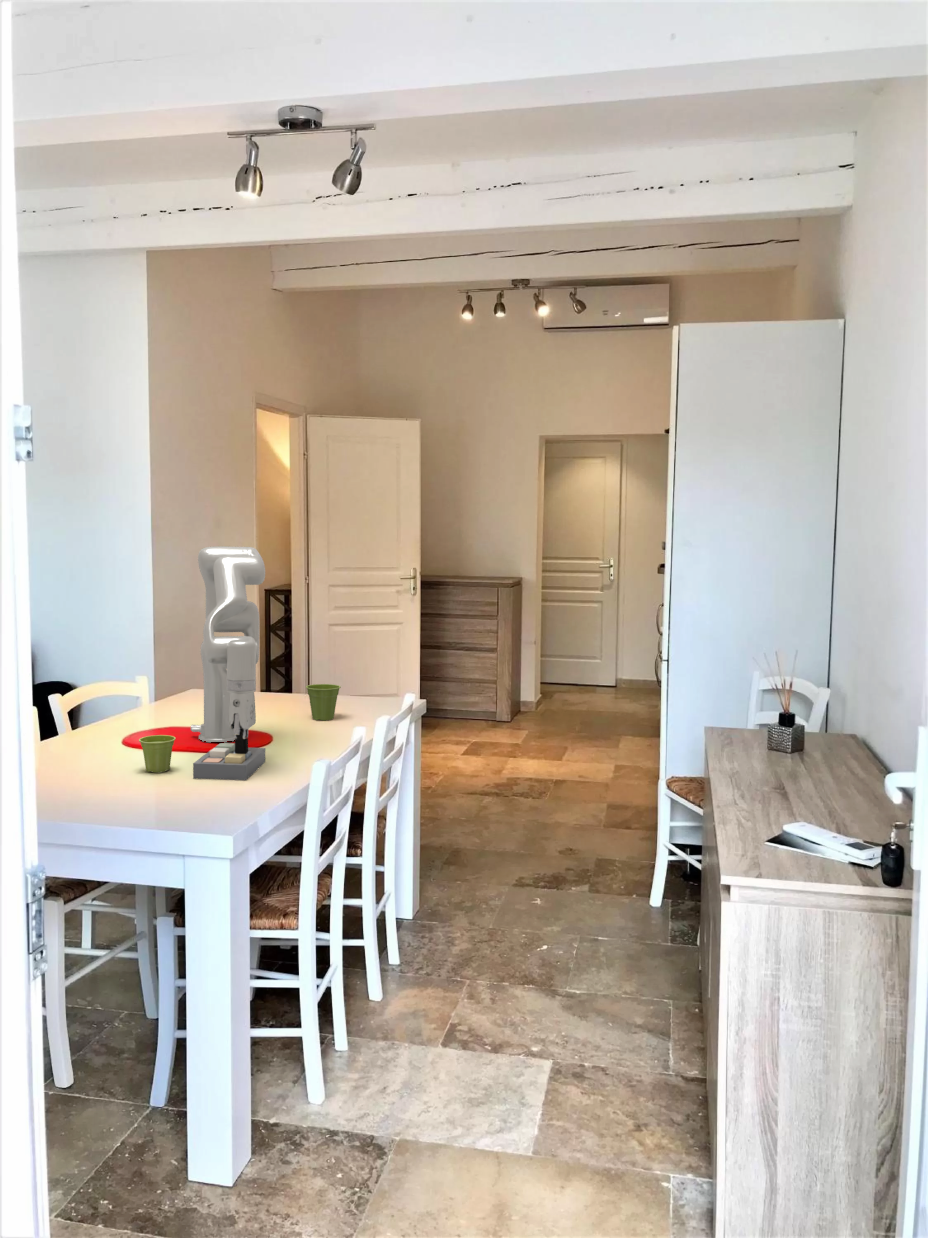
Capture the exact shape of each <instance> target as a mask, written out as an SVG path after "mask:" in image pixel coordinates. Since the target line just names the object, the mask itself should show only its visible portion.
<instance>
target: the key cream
mask: <svg viewBox="0 0 928 1238" xmlns="http://www.w3.org/2000/svg"><path fill="white" fill-rule="evenodd" d="M209 751H210V757H224V758H225V757H226V756H227V755H228V754H229V748H215V747H213V748H211V749H210V750H209Z"/></svg>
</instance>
